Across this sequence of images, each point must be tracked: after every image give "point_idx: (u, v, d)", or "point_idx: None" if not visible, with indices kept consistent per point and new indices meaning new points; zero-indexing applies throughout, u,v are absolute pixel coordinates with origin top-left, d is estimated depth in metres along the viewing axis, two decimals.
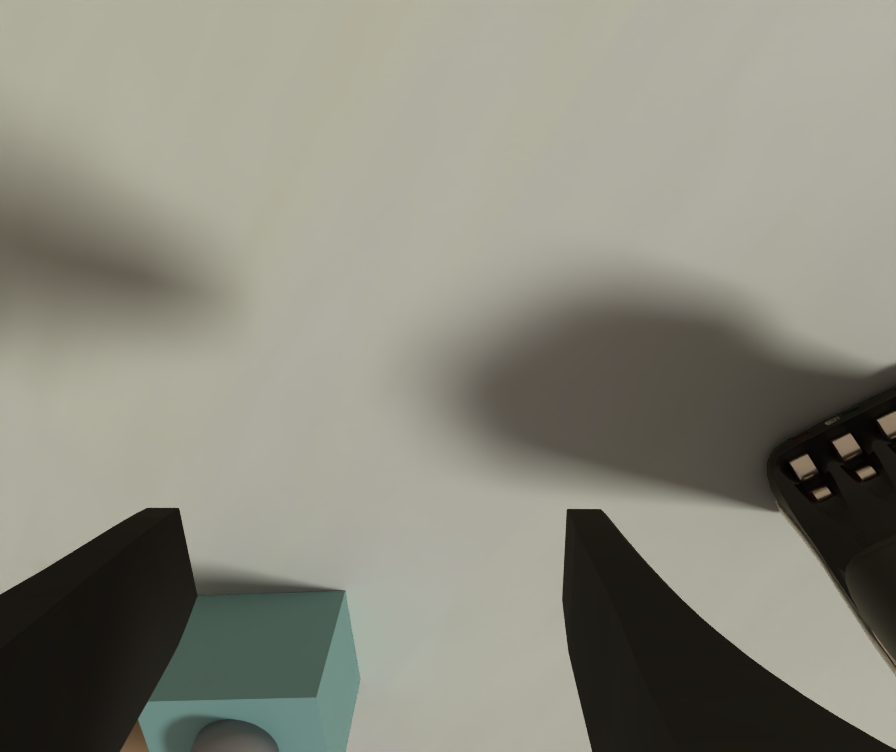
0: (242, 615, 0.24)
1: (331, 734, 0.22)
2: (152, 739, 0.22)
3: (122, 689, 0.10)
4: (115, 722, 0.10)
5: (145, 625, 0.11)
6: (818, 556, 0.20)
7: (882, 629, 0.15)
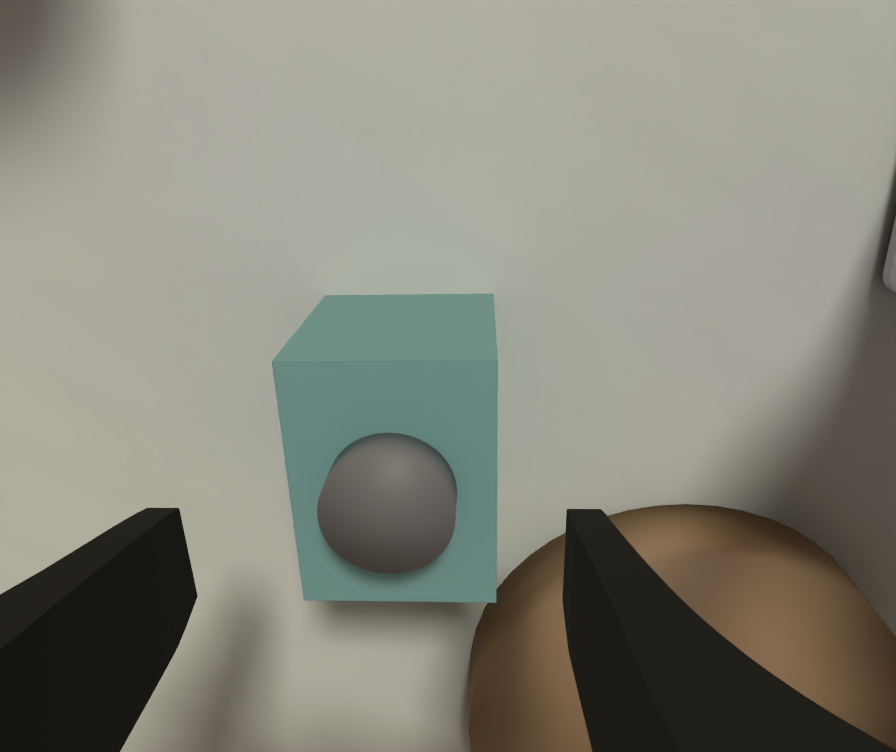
0: None
1: (394, 348, 0.14)
2: (373, 592, 0.15)
3: (122, 689, 0.10)
4: (115, 722, 0.10)
5: (145, 625, 0.11)
6: None
7: None
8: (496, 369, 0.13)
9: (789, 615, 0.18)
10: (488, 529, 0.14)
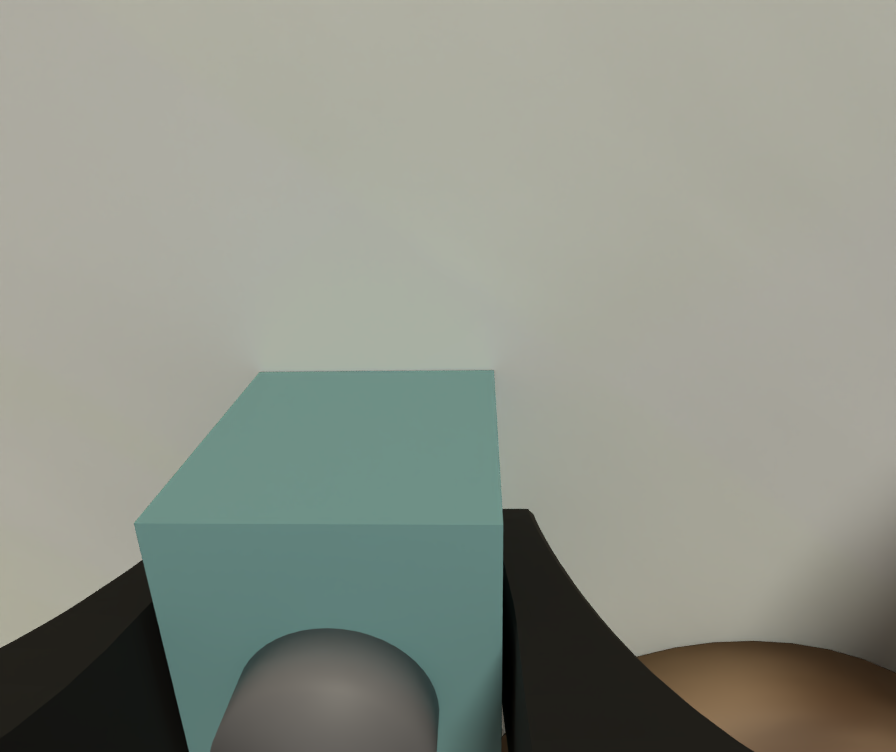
0: None
1: (338, 494, 0.09)
2: None
3: None
4: None
5: None
6: None
7: None
8: (501, 538, 0.08)
9: None
10: None
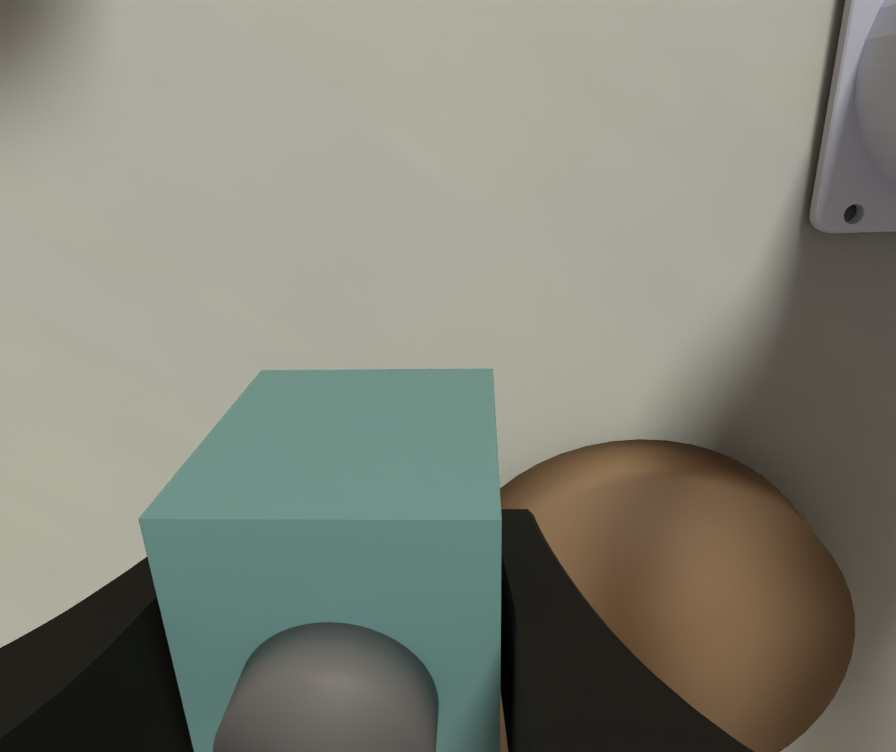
0: None
1: (339, 491, 0.09)
2: None
3: None
4: None
5: None
6: None
7: None
8: (499, 533, 0.08)
9: (732, 535, 0.19)
10: None
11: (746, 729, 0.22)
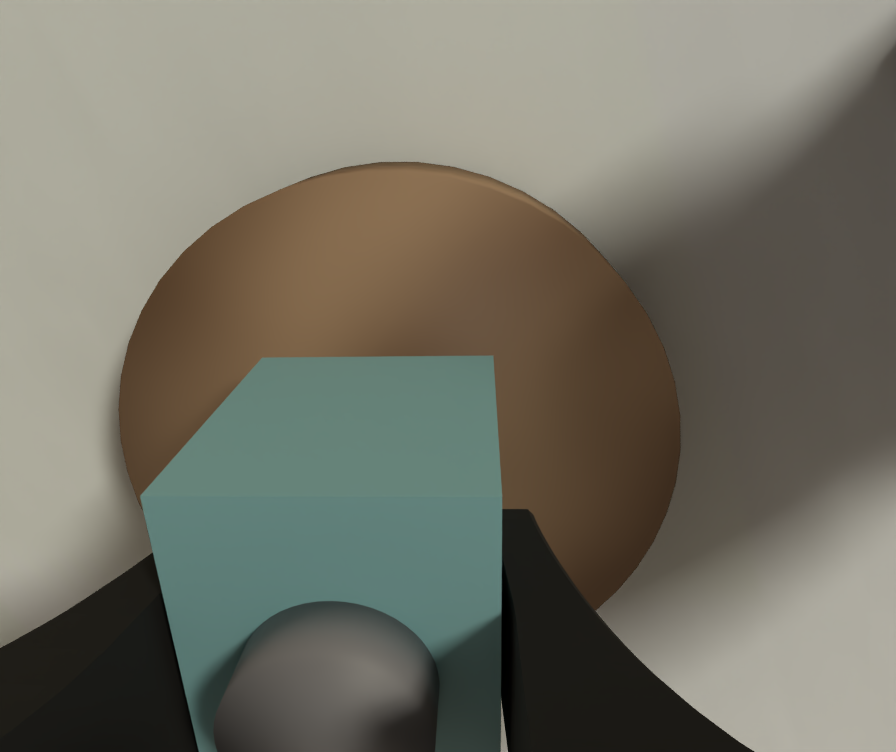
0: None
1: (340, 469, 0.09)
2: None
3: None
4: None
5: None
6: None
7: None
8: (500, 510, 0.08)
9: (596, 359, 0.14)
10: (487, 734, 0.09)
11: None
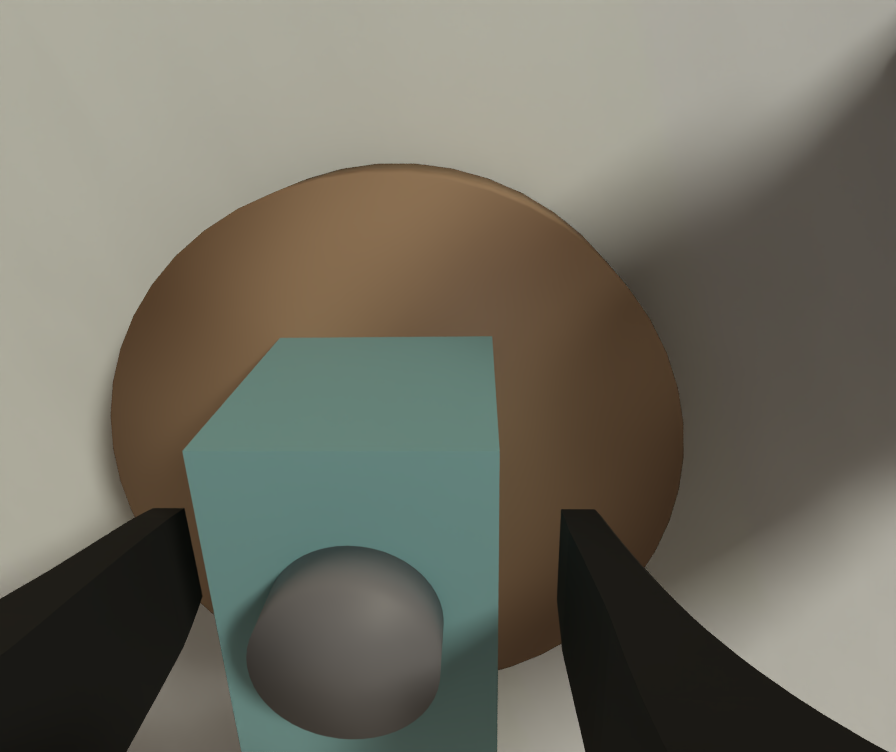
0: None
1: (357, 430, 0.10)
2: (333, 743, 0.11)
3: (128, 689, 0.10)
4: (122, 722, 0.10)
5: (151, 625, 0.11)
6: None
7: None
8: (497, 463, 0.09)
9: (598, 365, 0.14)
10: (486, 668, 0.11)
11: None
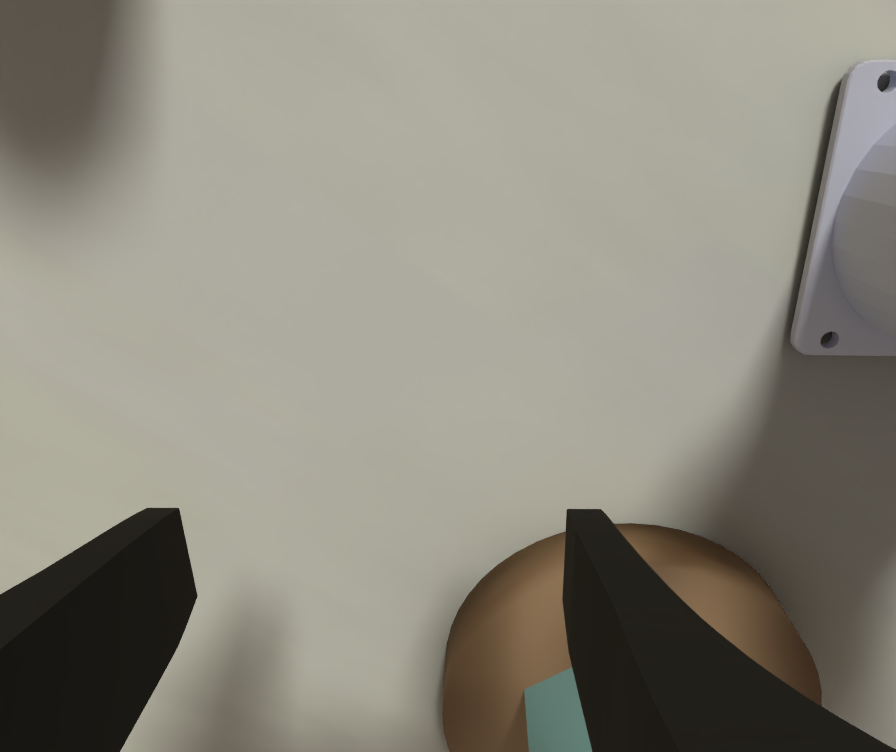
0: None
1: None
2: None
3: (122, 689, 0.10)
4: (115, 722, 0.10)
5: (145, 625, 0.11)
6: None
7: None
8: None
9: (712, 619, 0.21)
10: None
11: None
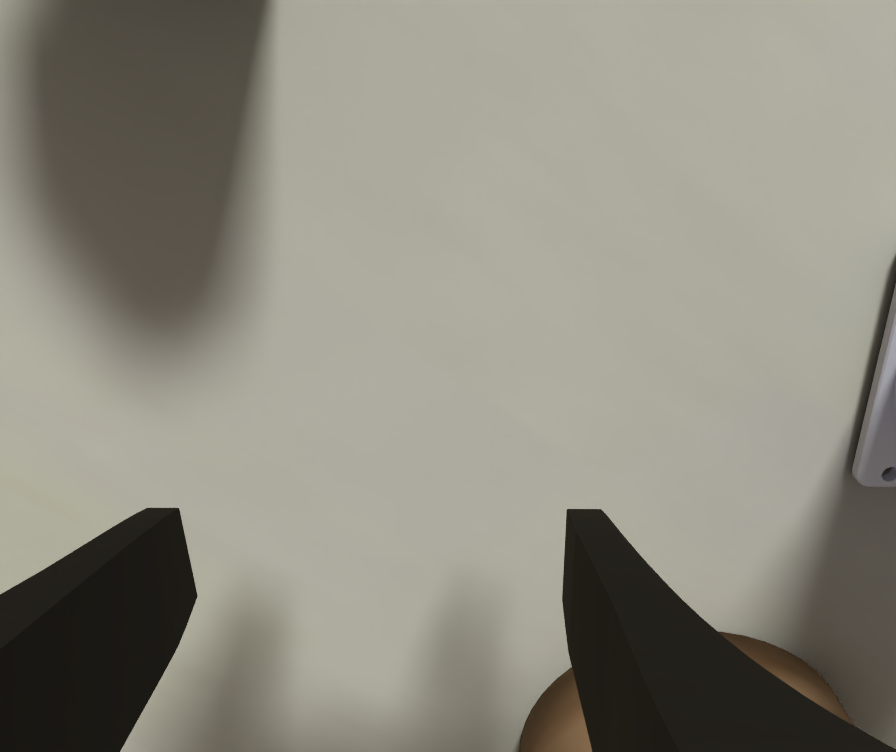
0: None
1: None
2: None
3: (122, 689, 0.10)
4: (115, 722, 0.10)
5: (145, 625, 0.11)
6: None
7: None
8: None
9: None
10: None
11: None
